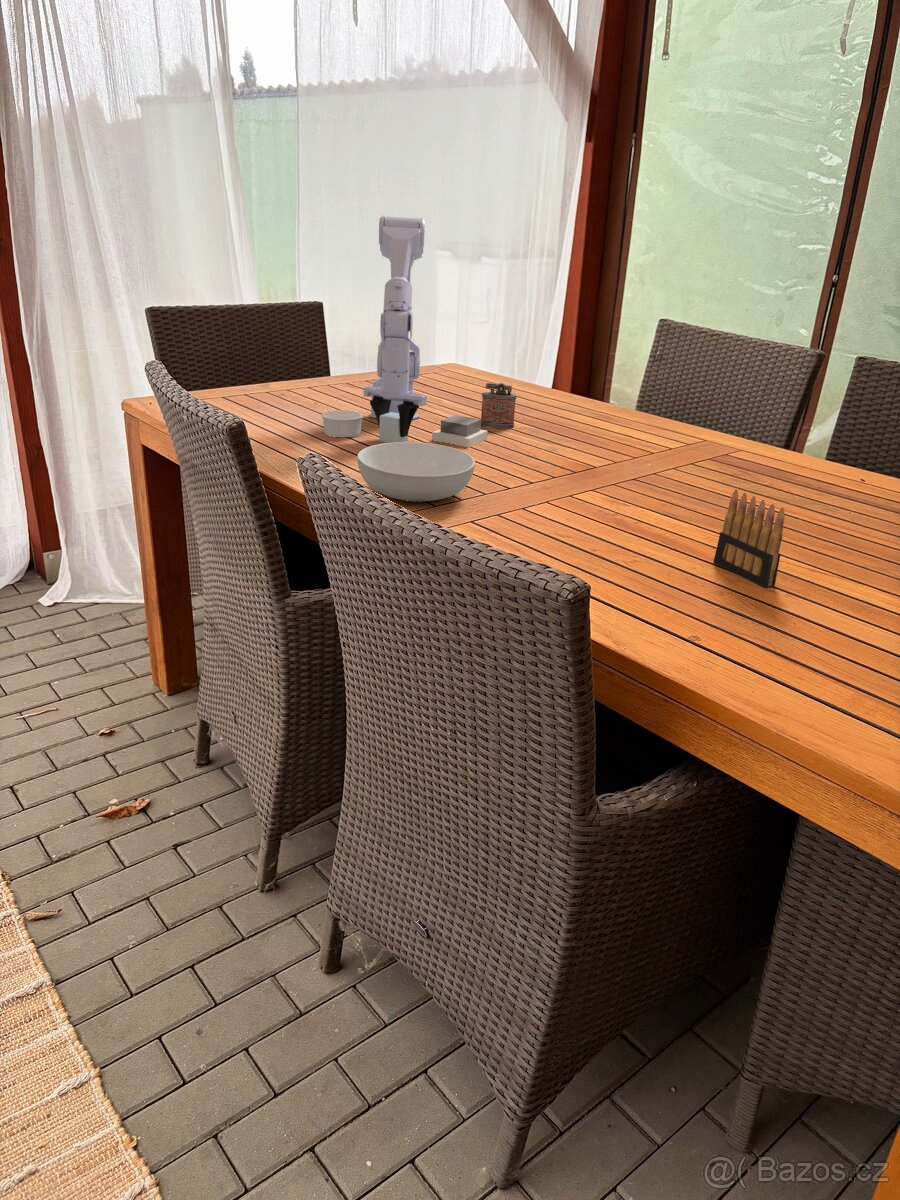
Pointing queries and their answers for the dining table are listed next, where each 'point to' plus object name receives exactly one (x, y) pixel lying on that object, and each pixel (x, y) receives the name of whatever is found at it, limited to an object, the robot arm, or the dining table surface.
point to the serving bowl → (415, 470)
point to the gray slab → (460, 425)
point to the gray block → (390, 428)
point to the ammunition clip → (751, 541)
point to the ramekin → (342, 423)
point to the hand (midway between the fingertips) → (393, 434)
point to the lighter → (498, 406)
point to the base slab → (460, 438)
